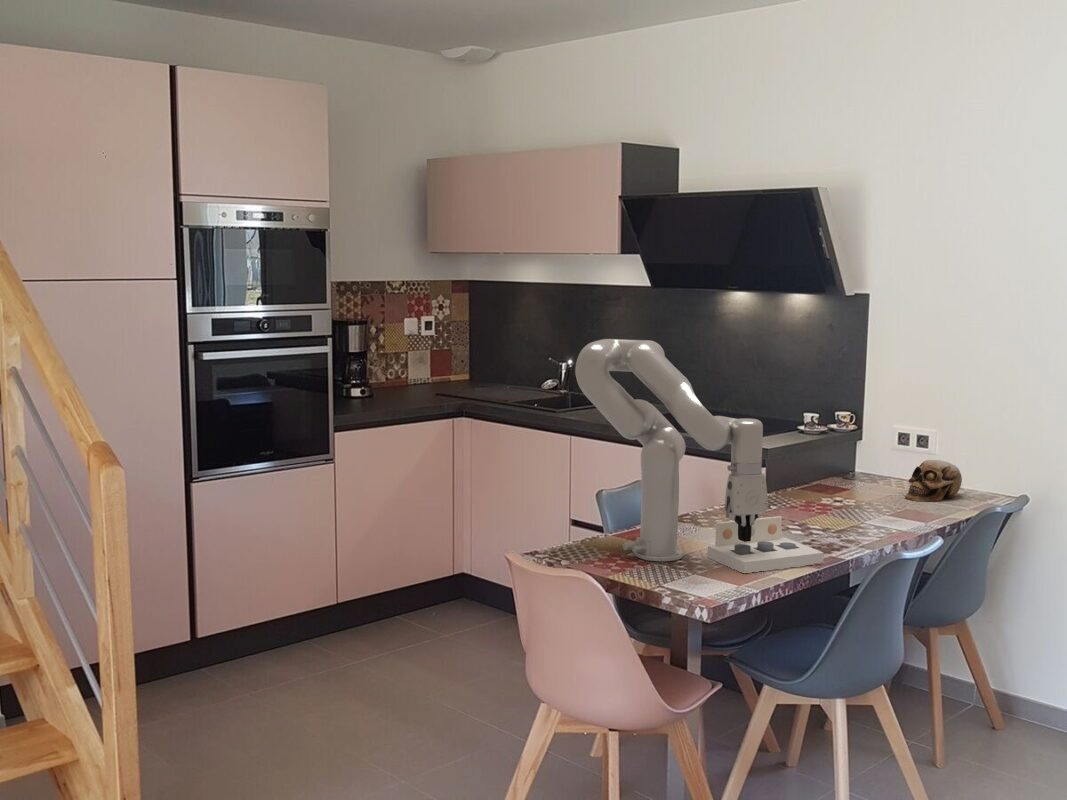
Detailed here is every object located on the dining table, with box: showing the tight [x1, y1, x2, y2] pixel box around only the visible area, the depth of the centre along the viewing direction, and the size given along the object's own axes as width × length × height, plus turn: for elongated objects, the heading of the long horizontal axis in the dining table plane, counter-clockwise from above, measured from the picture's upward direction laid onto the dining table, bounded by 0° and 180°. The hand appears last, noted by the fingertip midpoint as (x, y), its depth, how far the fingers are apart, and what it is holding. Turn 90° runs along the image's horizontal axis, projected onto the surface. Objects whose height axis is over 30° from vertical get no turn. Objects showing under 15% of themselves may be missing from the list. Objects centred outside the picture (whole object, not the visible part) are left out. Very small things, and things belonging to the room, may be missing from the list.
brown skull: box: [904, 459, 963, 503], centre depth 350 cm, size 16×17×13 cm
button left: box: [734, 544, 751, 555], centre depth 270 cm, size 4×4×3 cm
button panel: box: [706, 515, 825, 574], centre depth 272 cm, size 24×16×9 cm, turn 114°
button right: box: [780, 542, 796, 550], centre depth 275 cm, size 4×4×3 cm
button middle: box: [757, 541, 774, 552], centre depth 272 cm, size 4×4×3 cm
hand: (744, 540), depth 269 cm, fingers closed
